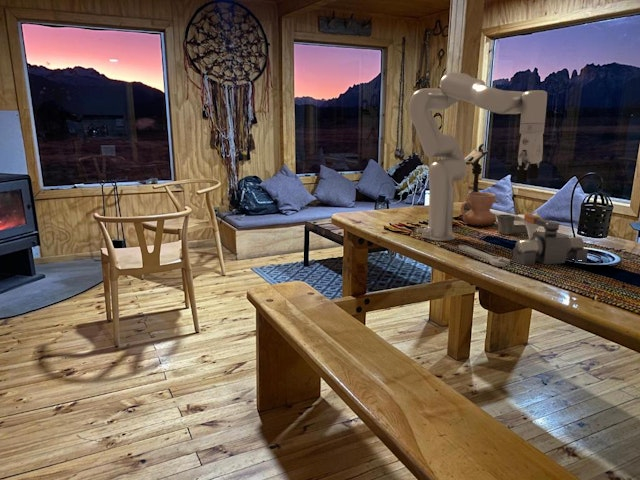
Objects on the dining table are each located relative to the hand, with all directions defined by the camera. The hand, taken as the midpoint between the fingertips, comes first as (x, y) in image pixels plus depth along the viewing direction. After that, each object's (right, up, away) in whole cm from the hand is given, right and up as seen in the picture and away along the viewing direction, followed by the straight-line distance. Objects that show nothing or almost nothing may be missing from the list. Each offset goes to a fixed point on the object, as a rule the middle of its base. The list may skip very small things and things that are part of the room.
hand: (527, 180), depth 165 cm
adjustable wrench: (-13, -27, +6) cm, 30 cm away
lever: (+6, -15, +3) cm, 17 cm away
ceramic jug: (+1, -14, +54) cm, 56 cm away
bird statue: (+6, -7, +80) cm, 81 cm away
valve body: (+7, -27, 0) cm, 28 cm away
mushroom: (+11, -21, +24) cm, 34 cm away
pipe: (+9, -18, +36) cm, 42 cm away
